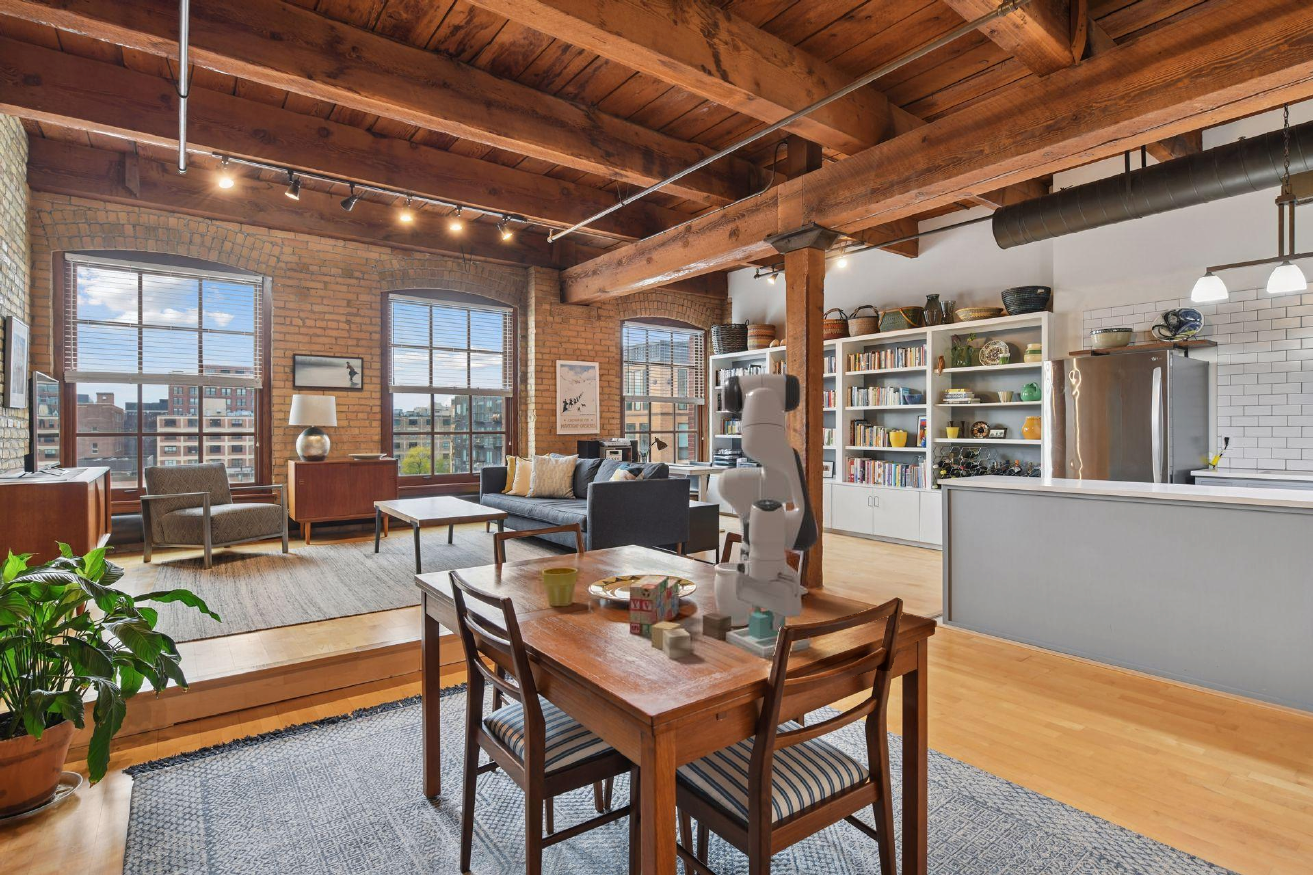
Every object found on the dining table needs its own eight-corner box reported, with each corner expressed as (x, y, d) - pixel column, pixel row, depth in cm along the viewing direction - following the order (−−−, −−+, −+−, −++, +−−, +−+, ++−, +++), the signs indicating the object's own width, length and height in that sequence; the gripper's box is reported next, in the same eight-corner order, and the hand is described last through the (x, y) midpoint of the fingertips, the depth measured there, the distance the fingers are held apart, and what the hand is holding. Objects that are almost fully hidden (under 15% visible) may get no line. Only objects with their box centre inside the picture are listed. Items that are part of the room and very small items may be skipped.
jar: (724, 614, 186) (724, 560, 185) (759, 620, 180) (760, 564, 180) (707, 624, 177) (707, 567, 176) (744, 630, 171) (744, 572, 171)
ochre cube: (663, 641, 164) (663, 620, 164) (680, 644, 161) (680, 624, 161) (651, 647, 160) (651, 626, 159) (669, 650, 157) (669, 629, 157)
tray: (770, 631, 171) (770, 622, 171) (809, 647, 159) (809, 638, 159) (726, 641, 163) (726, 632, 163) (763, 658, 151) (763, 648, 151)
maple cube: (683, 649, 158) (683, 628, 158) (690, 656, 153) (690, 635, 153) (662, 651, 156) (662, 630, 156) (669, 659, 152) (669, 637, 151)
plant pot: (546, 598, 202) (546, 566, 202) (580, 599, 202) (580, 566, 202) (538, 608, 192) (538, 574, 192) (575, 608, 191) (574, 574, 191)
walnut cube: (716, 630, 172) (716, 611, 172) (731, 635, 168) (731, 615, 168) (702, 634, 168) (702, 615, 168) (717, 639, 165) (717, 619, 164)
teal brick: (774, 629, 165) (774, 609, 165) (785, 633, 161) (785, 613, 161) (748, 634, 161) (748, 614, 160) (759, 639, 157) (759, 618, 157)
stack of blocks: (657, 611, 190) (657, 567, 189) (679, 613, 187) (678, 569, 187) (629, 633, 169) (629, 585, 169) (652, 636, 167) (652, 587, 167)
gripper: (808, 576, 153) (808, 636, 154) (750, 560, 171) (750, 614, 171) (787, 579, 150) (787, 641, 150) (730, 562, 167) (730, 618, 168)
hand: (767, 626), depth 161 cm, fingers closed on teal brick, 4 cm apart
